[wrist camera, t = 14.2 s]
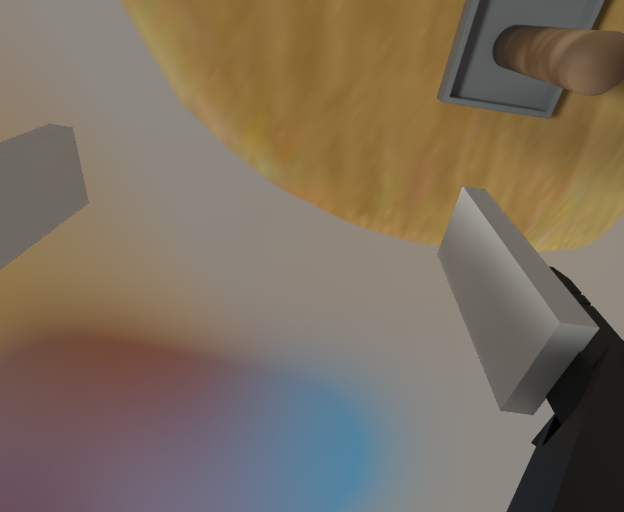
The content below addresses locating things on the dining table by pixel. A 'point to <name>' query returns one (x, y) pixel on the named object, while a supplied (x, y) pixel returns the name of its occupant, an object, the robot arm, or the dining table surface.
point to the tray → (492, 78)
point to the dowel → (563, 56)
